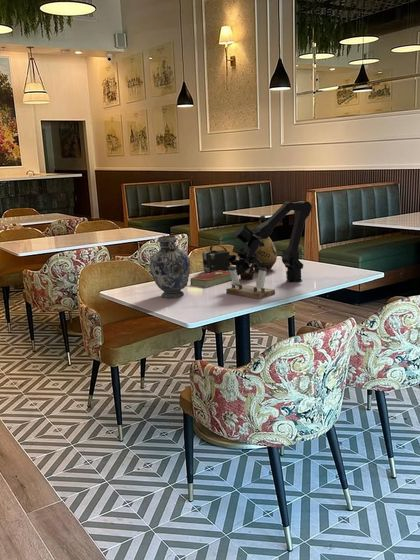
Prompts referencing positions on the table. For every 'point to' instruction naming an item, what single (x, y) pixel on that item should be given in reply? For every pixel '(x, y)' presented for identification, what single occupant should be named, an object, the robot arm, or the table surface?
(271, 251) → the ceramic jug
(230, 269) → the lever
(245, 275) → the coffee mug
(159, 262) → the decorative vase
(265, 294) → the switch box
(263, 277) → the lever
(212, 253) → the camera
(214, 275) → the hardcover book
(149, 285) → the table surface
